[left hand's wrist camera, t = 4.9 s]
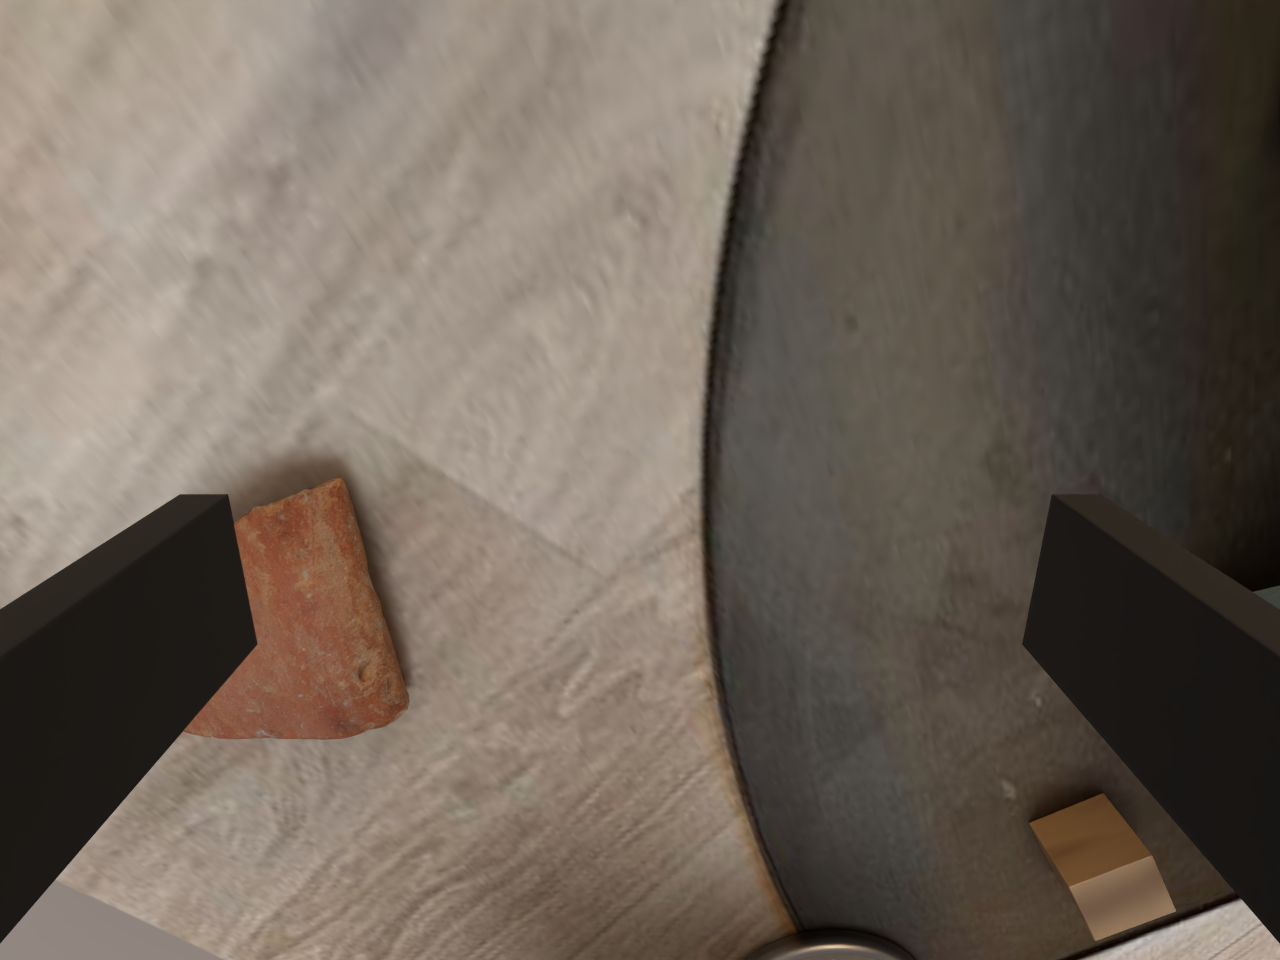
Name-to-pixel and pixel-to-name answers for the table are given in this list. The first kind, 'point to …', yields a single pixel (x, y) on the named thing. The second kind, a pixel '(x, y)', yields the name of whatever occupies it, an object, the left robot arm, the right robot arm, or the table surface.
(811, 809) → the table surface
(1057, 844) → the block
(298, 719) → the ceramic shard
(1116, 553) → the left robot arm
